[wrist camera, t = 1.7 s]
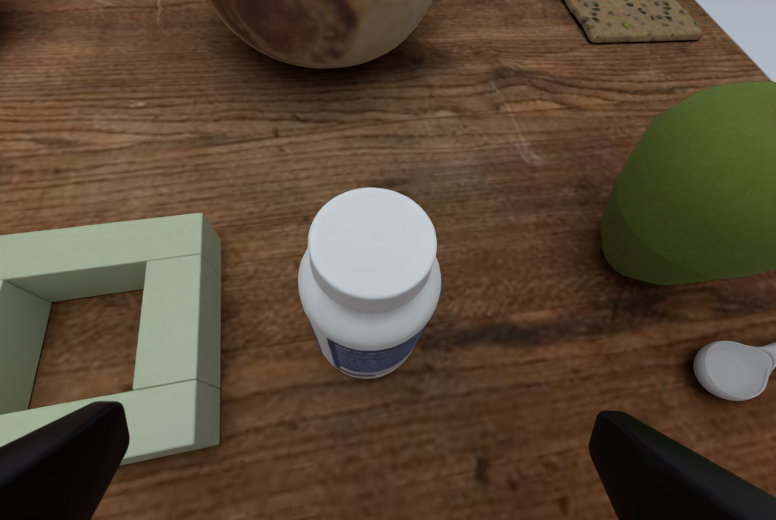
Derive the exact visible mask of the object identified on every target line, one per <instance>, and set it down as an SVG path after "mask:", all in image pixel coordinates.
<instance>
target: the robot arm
mask: <svg viewBox="0 0 776 520" xmlns="http://www.w3.org/2000/svg"><path fill="white" fill-rule="evenodd" d="M129 442H130V435H129V430H128V425H127V420H126V415H125V410H124V406H123V405H122V404H121V403H120V402H118V401H95V402H92V403H90V404H88V405H86V406H83V407H81V408H79V409H77V410H75V411H73V412H71V413H69V414H67V415H65V416H63V417H61V418H59V419H57V420H55V421H53V422H51V423H49V424H46V425H44V426H42V427H40V428H38V429H36V430H34V431H32V432H30V433H28V434H26V435H24V436H22V437H20V438H18V439H16V440H14V441H11V442H9V443H7V444H5V445H3V446H1V447H0V520H91V518H92V516H93V514H94V512H95V510H96V508H97V507H98V505H99V503H100V501H101V499H102V497H103V495H104V493H105V492H106V490H107V488H108V486H109V484H110V482H111V480H112V478H113V477H114V475H115V473H116V471H117V469H118V467H119V465H120V463H121V461H122V460H123V458H124V456H125V454H126V452H127V449H128V447H129ZM589 452H590V456H591V459H592V461H593V463H594V465H595V468H596V470H597V472H598V474H599V477H600V479H601V481H602V483H603V486H604V488H605V490H606V492H607V495H608V497H609V499H610V502H611V504H612V506H613V508H614V511H615V513H616V515H617V517H618V520H776V498H775V497H773V496H772V495H770V494H768V493H766V492H765V491H763V490H761V489H759V488H758V487H756V486H754V485H752V484H750V483H749V482H747V481H745V480H743V479H742V478H740V477H738V476H736V475H735V474H733V473H731V472H729V471H727V470H726V469H724V468H722V467H720V466H719V465H717V464H715V463H713V462H712V461H710V460H708V459H706V458H704V457H703V456H701V455H699V454H697V453H696V452H694V451H692V450H690V449H689V448H687V447H685V446H683V445H681V444H680V443H678V442H676V441H674V440H673V439H671V438H669V437H667V436H666V435H664V434H662V433H660V432H658V431H657V430H655V429H653V428H651V427H650V426H648V425H646V424H644V423H643V422H641V421H639V420H637V419H635V418H634V417H632V416H630V415H628V414H627V413H625V412H622V411H601V412H600V413H599V414H598V415H597V417H596V421H595V424H594V428H593V431H592V435H591V438H590V441H589Z"/></svg>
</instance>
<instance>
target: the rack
mask: <svg viewBox="0 0 776 520" xmlns="http://www.w3.org/2000/svg"><path fill="white" fill-rule="evenodd" d="M141 289H144V291H143V300H142V309H141V318H140V327H139V336H138V345H137V354H136V363H135V372H134V381H133V390H134V391H129V392H123V393H117V394H112V395H106V396H101V397H95V398H90V399H84V400H79V401H73V402H67V403H62V404H56V405H51V406H45V407H40V408H34V409H29V410H28V406H29V401H30V397H31V393H32V388H33V384H34V379H35V375H36V371H37V366H38V362H39V358H40V353H41V349H42V344H43V340H44V336H45V331H46V327H47V322H48V318H49V314H50V309H51V305H52V303H51V302H56V301H63V300H70V299H77V298H84V297H91V296H98V295H105V294H112V293H119V292H126V291H134V290H141ZM220 352H221V240H220V238H219V237H218V235H217V234H216V232H215V231H214V229H213V228H212V226H211V225H210V223H209V222H208V220H207V219H206V217H205V216H204V214H203V213H194V214H185V215H177V216H168V217H159V218H150V219H141V220H133V221H124V222H115V223H106V224H97V225H89V226H80V227H71V228H62V229H53V230H45V231H36V232H27V233H18V234H9V235H1V236H0V447H1V446H3V445H5V444H7V443H9V442H11V441H14V440H16V439H18V438H20V437H22V436H24V435H26V434H28V433H30V432H32V431H34V430H36V429H38V428H40V427H42V426H44V425H46V424H49V423H51V422H53V421H55V420H57V419H59V418H61V417H63V416H65V415H67V414H69V413H71V412H73V411H75V410H77V409H79V408H81V407H83V406H86V405H88V404H90V403H92V402H95V401H118V402H120V403H121V404H122V405H123V406H124V410H125V415H126V420H127V425H128V430H129V435H130V442H129V447H128V449H127V452H126V454H125V456H124V458H123V460H122V461H121V463H120V465H125V464H130V463H135V462H139V461H144V460H149V459H154V458H159V457H163V456H168V455H173V454H178V453H183V452H187V451H192V450H197V449H202V448H207V447H211V446H216V445H219V443H220V389H219V388H220ZM120 465H119V466H120Z"/></svg>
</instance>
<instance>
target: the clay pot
mask: <svg viewBox="0 0 776 520" xmlns="http://www.w3.org/2000/svg"><path fill="white" fill-rule="evenodd" d="M206 1H207V2H208V4H209V5H210V6H211V7H212V9H213V10H214V11H215V12H216V14H217V15H218V16H219V18H220V19H221V20H222V21H223V23H224V24H225V25H226V26H227V27H228V28H229V29H230V30H231V31H232V32H233V33H234V34H235V35H237V36H238V37H239V38H241V39H242V40H243V41H244V42H246V43H247V44H248V45H250V46H251V47H252V48H254V49H256V50H258V51H259V52H261V53H263V54H265V55H267V56H269V57H271V58H274V59H276V60H279V61H282V62H285V63H288V64H291V65H296V66H301V67H306V68H317V69H326V68H341V67H349V66H354V65H359V64H362V63H365V62H368V61H371V60H373V59H375V58H378V57H380V56H382V55H384V54H386V53H387V52H389V51H391V50H392V49H394V48H396V47H397V46H398V45H399V44H401V43H402V42H403V41H404V40H405V39H406V38H407V37H408V36H409V35H410V34H411V33H412V32H413V30H414V29H415V28H416V27H417V26H418V24H419V23H420V21H421V20H422V19H423V17H424V15H425V14H426V12H427V11H428V9H429V7H430V5H431V3H432V2H433V0H206Z"/></svg>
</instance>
